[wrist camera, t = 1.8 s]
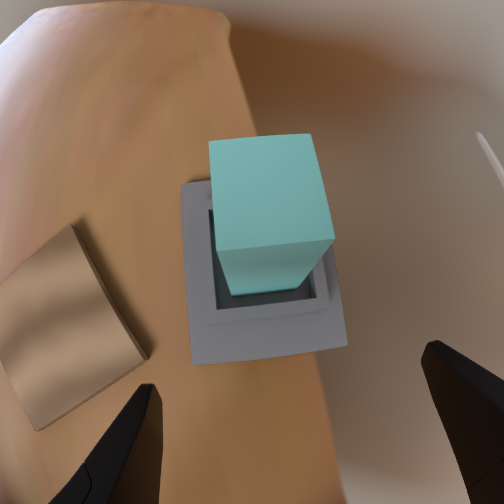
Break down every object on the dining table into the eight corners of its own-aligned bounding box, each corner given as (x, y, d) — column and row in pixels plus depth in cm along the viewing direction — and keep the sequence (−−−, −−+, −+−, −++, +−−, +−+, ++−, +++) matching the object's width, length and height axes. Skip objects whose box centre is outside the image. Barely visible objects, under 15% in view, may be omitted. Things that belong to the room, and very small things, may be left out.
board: (149, 359, 22) (143, 360, 21) (43, 429, 19) (35, 431, 18) (76, 228, 25) (70, 223, 24) (-12, 306, 22) (-19, 304, 21)
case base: (344, 345, 22) (357, 344, 19) (195, 364, 22) (187, 366, 19) (313, 176, 26) (320, 157, 23) (183, 189, 26) (176, 171, 23)
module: (295, 290, 22) (335, 238, 12) (232, 297, 22) (216, 251, 12) (285, 224, 24) (310, 133, 13) (225, 230, 24) (208, 141, 13)
